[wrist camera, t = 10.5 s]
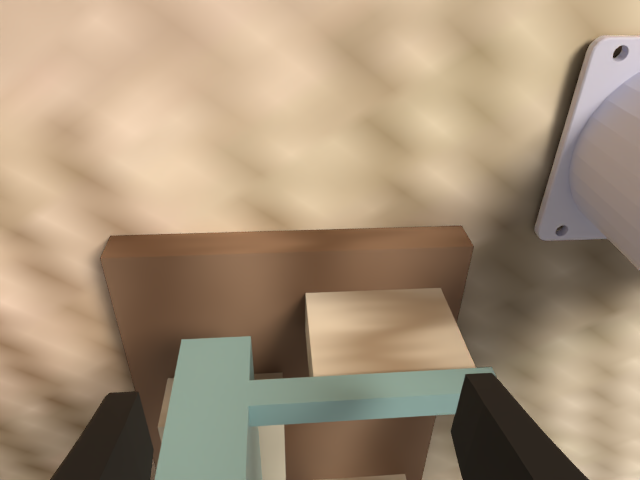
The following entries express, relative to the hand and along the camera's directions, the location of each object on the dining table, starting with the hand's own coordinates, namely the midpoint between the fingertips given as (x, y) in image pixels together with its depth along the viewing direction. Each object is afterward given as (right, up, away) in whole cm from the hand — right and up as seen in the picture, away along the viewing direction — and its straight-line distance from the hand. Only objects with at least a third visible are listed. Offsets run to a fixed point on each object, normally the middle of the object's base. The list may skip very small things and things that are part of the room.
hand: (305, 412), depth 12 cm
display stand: (-1, -4, +14) cm, 15 cm away
